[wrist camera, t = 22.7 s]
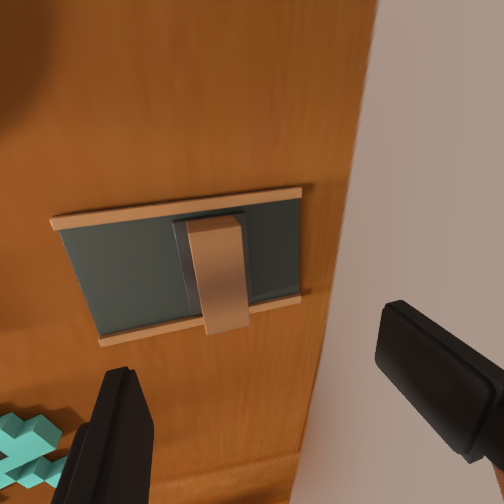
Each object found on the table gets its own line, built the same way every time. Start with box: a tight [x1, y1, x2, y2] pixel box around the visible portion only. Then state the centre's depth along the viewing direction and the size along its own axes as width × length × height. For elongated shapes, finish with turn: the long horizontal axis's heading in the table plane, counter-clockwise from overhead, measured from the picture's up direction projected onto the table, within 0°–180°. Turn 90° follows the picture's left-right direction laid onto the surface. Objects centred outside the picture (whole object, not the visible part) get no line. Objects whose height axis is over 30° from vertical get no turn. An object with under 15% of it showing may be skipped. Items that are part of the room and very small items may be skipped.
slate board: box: [49, 186, 302, 347], centre depth 31 cm, size 16×26×1 cm, turn 95°
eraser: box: [172, 211, 253, 336], centre depth 29 cm, size 12×8×6 cm, turn 5°
